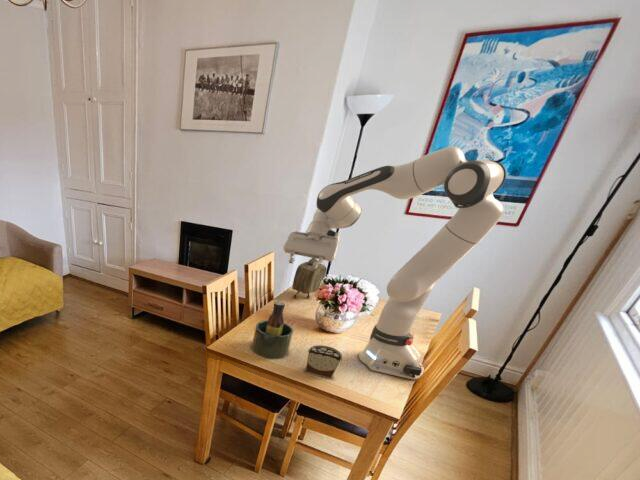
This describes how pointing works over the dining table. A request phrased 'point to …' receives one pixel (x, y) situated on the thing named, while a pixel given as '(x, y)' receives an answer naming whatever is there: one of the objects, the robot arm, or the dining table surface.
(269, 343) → the bottle cooler
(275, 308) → the sauce bottle
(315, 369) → the food container
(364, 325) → the dining table surface
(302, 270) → the tabletop clock
